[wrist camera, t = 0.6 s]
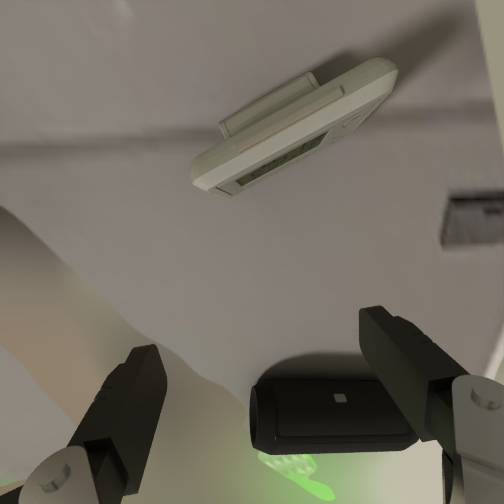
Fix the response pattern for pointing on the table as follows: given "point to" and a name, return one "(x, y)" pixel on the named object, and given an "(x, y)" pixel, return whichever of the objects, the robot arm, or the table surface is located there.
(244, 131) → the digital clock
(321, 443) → the portable speaker
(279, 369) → the table surface
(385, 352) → the robot arm
